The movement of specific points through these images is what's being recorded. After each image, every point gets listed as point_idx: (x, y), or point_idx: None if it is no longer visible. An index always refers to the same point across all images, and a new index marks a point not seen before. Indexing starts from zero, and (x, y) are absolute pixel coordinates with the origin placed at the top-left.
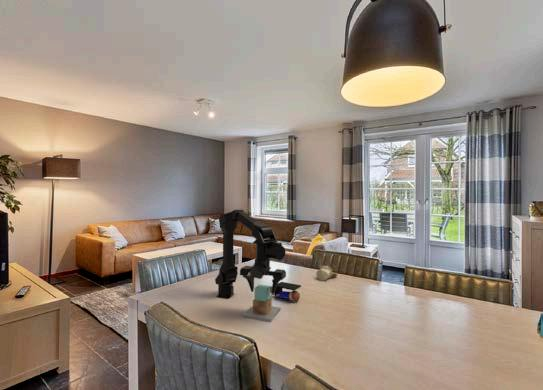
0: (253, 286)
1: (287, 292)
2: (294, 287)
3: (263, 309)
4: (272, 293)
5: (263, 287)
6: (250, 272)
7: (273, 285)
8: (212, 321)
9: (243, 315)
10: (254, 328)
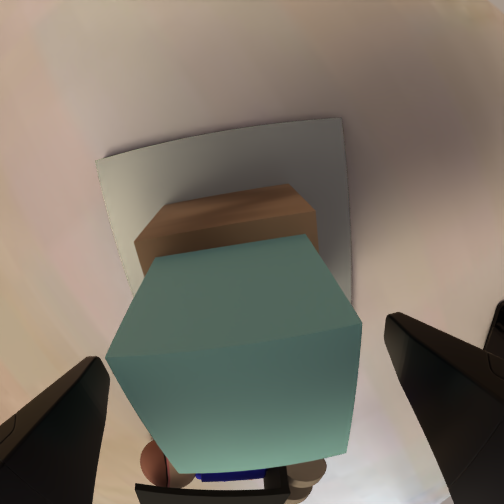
0: (408, 386)
1: (209, 475)
2: (153, 501)
3: (182, 210)
4: (85, 365)
5: (219, 418)
6: None
7: (9, 438)
8: (449, 6)
9: (336, 118)
10: (155, 14)
